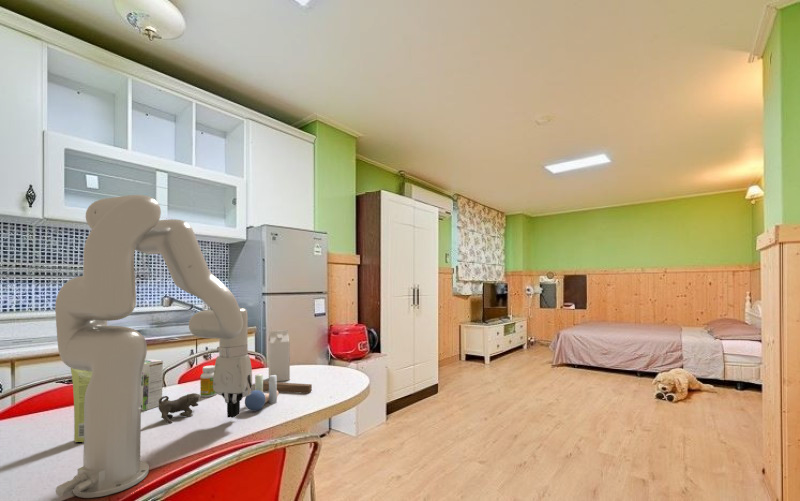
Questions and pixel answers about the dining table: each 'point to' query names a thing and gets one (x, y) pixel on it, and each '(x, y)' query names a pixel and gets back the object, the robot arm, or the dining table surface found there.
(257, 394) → the ball
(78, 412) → the tube
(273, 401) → the back pin right
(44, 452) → the dining table surface
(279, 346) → the milk carton
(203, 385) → the supplement bottle
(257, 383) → the back pin left
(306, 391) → the brown bar
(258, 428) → the dining table surface
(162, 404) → the dog figurine
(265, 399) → the front pin
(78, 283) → the robot arm
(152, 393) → the syrup box
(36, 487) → the dining table surface
